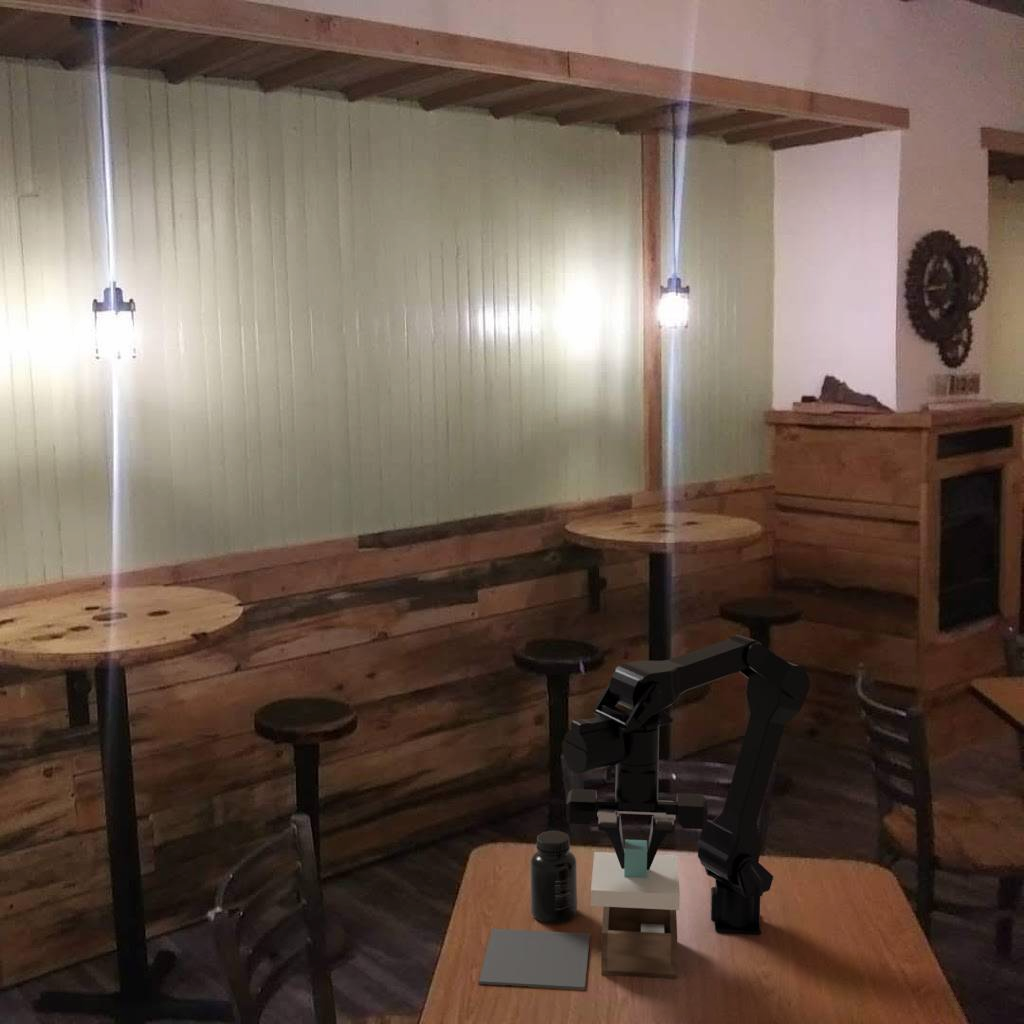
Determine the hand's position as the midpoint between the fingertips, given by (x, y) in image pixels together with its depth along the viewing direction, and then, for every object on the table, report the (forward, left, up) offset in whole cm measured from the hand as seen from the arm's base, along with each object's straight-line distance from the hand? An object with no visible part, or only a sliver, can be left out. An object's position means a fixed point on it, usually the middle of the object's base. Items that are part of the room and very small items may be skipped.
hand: (635, 868), depth 167 cm
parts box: (-1, 0, -13) cm, 13 cm away
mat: (+13, +2, -13) cm, 19 cm away
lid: (0, 0, -3) cm, 3 cm away
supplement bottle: (+12, -11, -13) cm, 21 cm away
